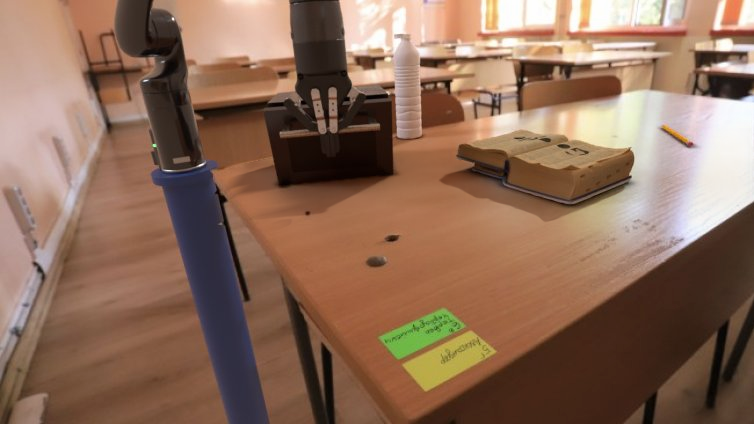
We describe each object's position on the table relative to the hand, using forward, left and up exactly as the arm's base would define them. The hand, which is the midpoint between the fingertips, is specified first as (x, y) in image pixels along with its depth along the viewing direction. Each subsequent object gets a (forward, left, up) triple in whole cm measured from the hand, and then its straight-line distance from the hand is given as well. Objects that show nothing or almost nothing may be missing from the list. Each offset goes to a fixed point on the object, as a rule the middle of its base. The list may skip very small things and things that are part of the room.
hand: (331, 155), depth 66 cm
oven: (-10, +19, -8) cm, 22 cm away
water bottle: (-3, +46, -8) cm, 46 cm away
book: (+30, +20, -8) cm, 37 cm away
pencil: (+57, +54, -8) cm, 79 cm away
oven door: (-5, +9, -8) cm, 13 cm away
